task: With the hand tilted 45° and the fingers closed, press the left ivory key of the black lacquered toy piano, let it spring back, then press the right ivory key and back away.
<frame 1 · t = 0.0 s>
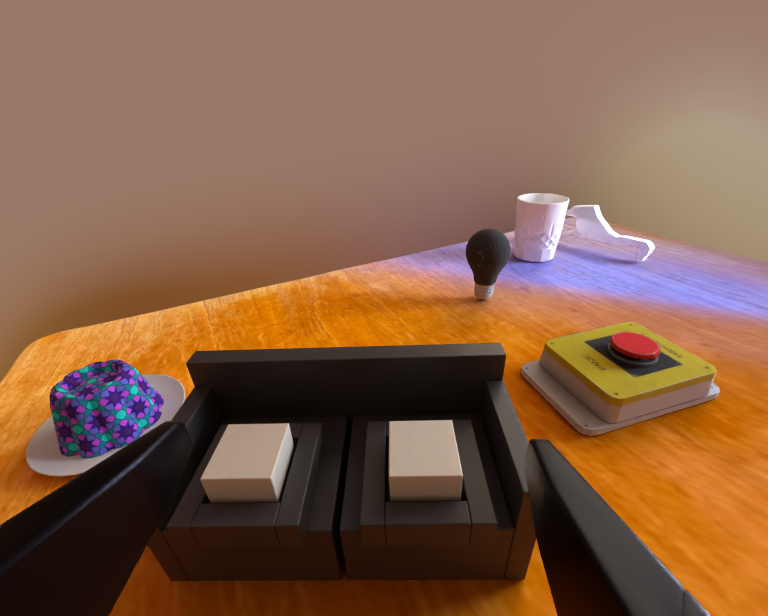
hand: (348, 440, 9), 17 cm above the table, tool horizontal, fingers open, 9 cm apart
key 2: (251, 461, 20), point 7 cm above the table, slide at 0.1 cm
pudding: (116, 424, 33), on the table
emergency button: (612, 383, 35), on the table
light bulb: (482, 300, 51), on the table
piano section 1: (420, 512, 24), on the table
piano case: (351, 513, 25), on the table
white cup: (533, 256, 64), on the table
piano section 2: (282, 514, 25), on the table
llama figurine: (589, 249, 66), on the table
key 1: (422, 458, 20), point 7 cm above the table, slide at 0.1 cm
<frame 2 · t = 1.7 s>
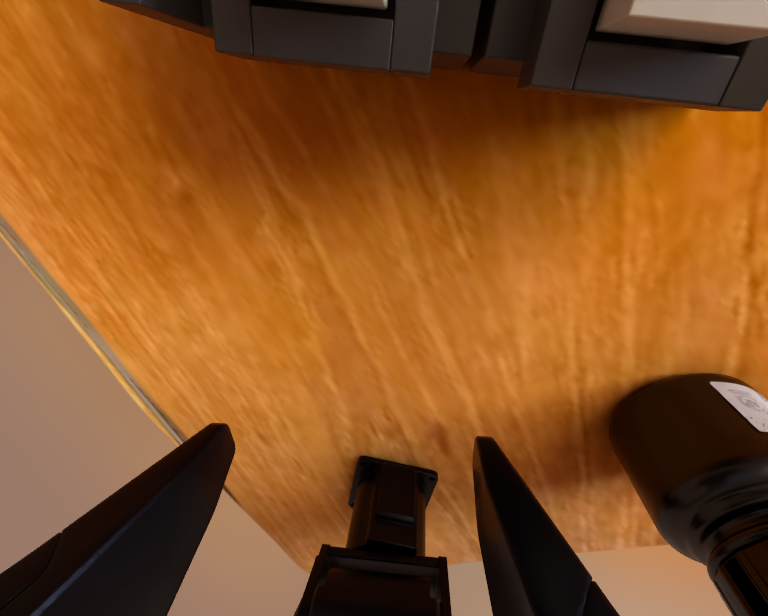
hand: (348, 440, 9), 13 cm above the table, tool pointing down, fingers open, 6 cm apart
ink bottle: (676, 419, 24), on the table
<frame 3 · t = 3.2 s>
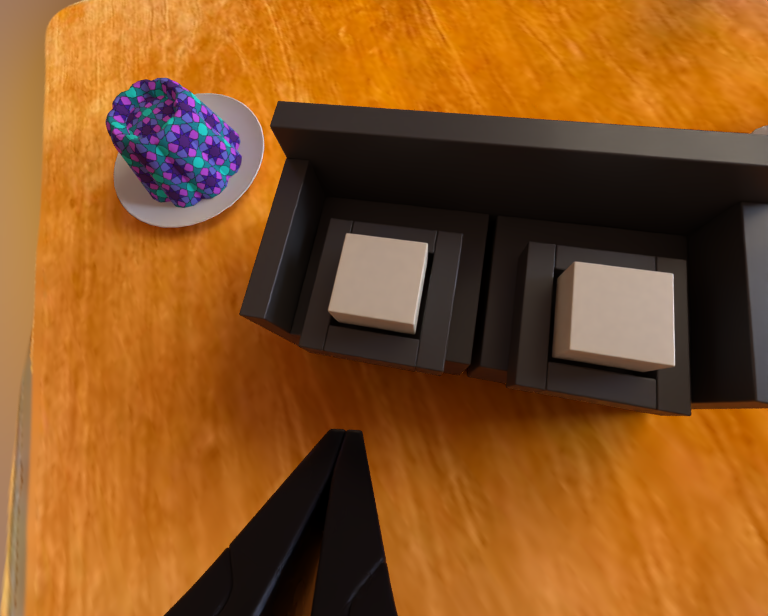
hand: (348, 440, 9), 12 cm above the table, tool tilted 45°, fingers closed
key 2: (380, 284, 16), point 7 cm above the table, slide at 0.1 cm
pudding: (195, 164, 28), on the table
piano section 1: (550, 324, 22), on the table
piano case: (471, 312, 23), on the table
piano section 2: (398, 301, 23), on the table
key 1: (609, 317, 14), point 7 cm above the table, slide at 0.1 cm
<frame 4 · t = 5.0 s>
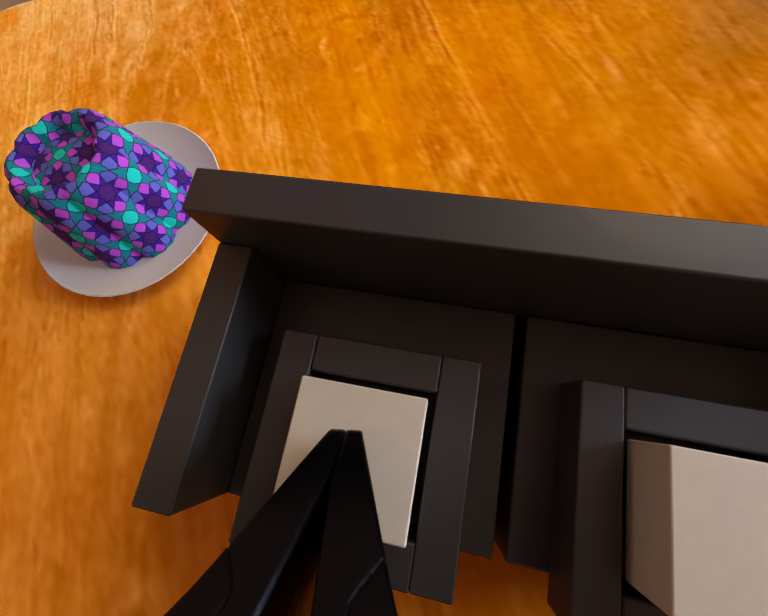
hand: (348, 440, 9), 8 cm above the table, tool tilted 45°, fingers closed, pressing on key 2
key 2: (356, 451, 10), point 7 cm above the table, slide at -0.1 cm, touching gripper
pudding: (138, 211, 23), on the table
piano section 1: (593, 444, 16), on the table
piano case: (486, 423, 17), on the table
piano section 2: (388, 404, 18), on the table
key 1: (725, 533, 9), point 7 cm above the table, slide at 0.1 cm
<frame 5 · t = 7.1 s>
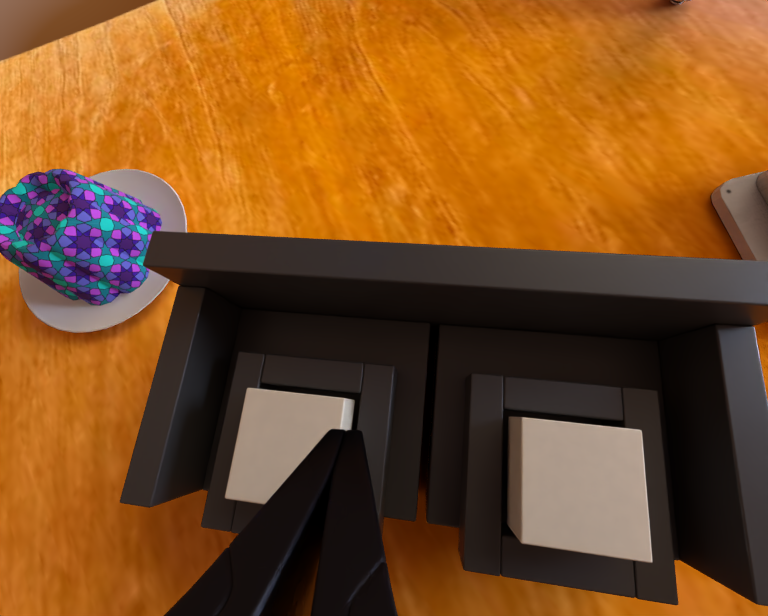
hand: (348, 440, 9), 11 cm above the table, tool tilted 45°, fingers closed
key 2: (295, 444, 13), point 7 cm above the table, slide at 0.1 cm
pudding: (113, 251, 25), on the table
light bulb: (674, 3, 26), on the table
piano section 1: (515, 424, 19), on the table
piano case: (427, 415, 20), on the table
piano section 2: (343, 405, 20), on the table
key 1: (570, 479, 12), point 7 cm above the table, slide at 0.1 cm
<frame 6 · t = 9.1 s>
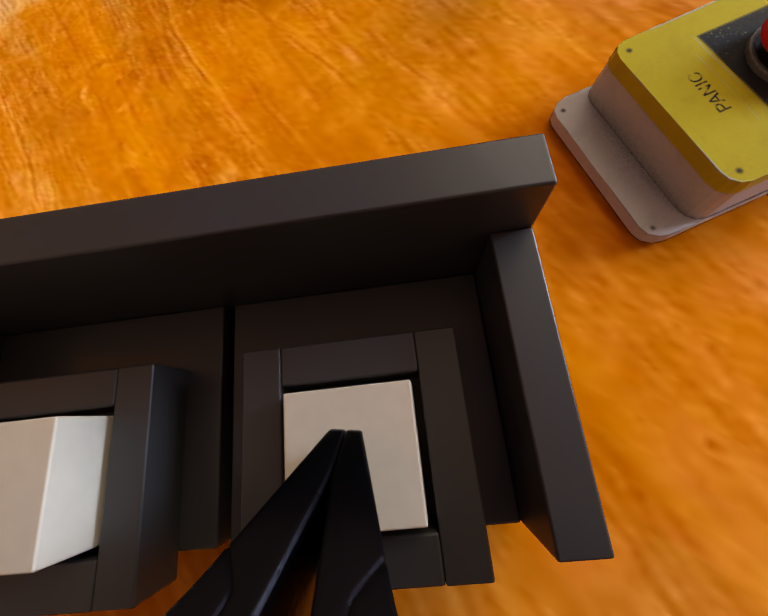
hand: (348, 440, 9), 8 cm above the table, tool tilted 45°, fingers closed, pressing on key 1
key 2: (20, 489, 10), point 7 cm above the table, slide at 0.1 cm
emergency button: (714, 123, 19), on the table
piano section 1: (378, 404, 17), on the table
piano case: (281, 414, 17), on the table
piano section 2: (187, 425, 18), on the table
key 1: (356, 452, 10), point 6 cm above the table, slide at -0.9 cm, touching gripper
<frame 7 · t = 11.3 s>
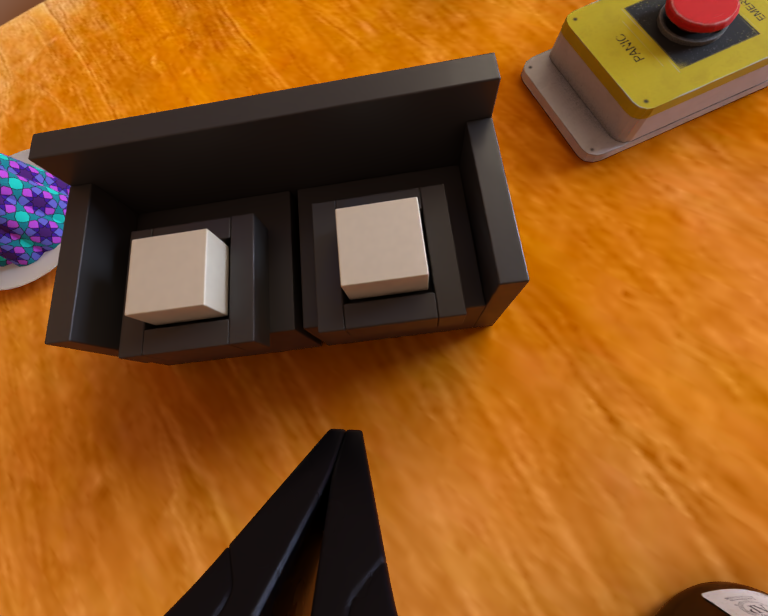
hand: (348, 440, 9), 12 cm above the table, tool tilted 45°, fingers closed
key 2: (180, 278, 17), point 7 cm above the table, slide at 0.1 cm
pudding: (33, 221, 28), on the table
emergency button: (643, 76, 26), on the table
piano section 1: (392, 276, 23), on the table
piano case: (321, 286, 24), on the table
piano section 2: (252, 295, 24), on the table
key 1: (382, 250, 16), point 7 cm above the table, slide at 0.1 cm
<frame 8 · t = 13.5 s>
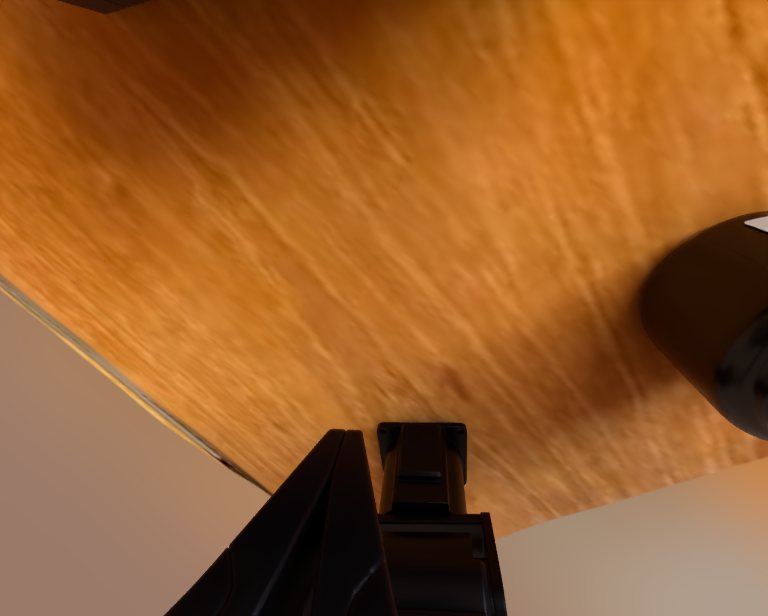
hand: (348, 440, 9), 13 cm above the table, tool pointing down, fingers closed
ink bottle: (724, 289, 20), on the table
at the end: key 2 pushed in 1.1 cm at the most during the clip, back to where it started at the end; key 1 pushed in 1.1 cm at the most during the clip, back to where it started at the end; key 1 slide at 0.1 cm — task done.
